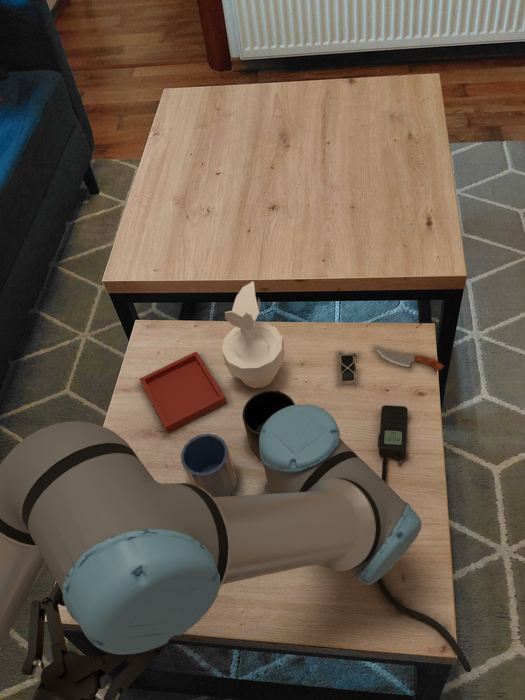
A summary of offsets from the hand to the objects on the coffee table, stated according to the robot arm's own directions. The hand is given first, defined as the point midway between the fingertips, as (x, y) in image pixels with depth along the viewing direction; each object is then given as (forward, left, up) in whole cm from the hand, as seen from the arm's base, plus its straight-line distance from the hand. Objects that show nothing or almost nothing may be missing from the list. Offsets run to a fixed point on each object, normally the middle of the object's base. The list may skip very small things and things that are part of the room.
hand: (120, 571), depth 95 cm
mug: (+15, -33, -11) cm, 38 cm away
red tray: (+33, -22, -11) cm, 41 cm away
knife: (+14, -62, -11) cm, 64 cm away
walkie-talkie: (+7, -53, -9) cm, 55 cm away
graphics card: (+21, -51, -10) cm, 56 cm away
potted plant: (+29, -37, -11) cm, 48 cm away
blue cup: (+12, -19, -11) cm, 25 cm away
